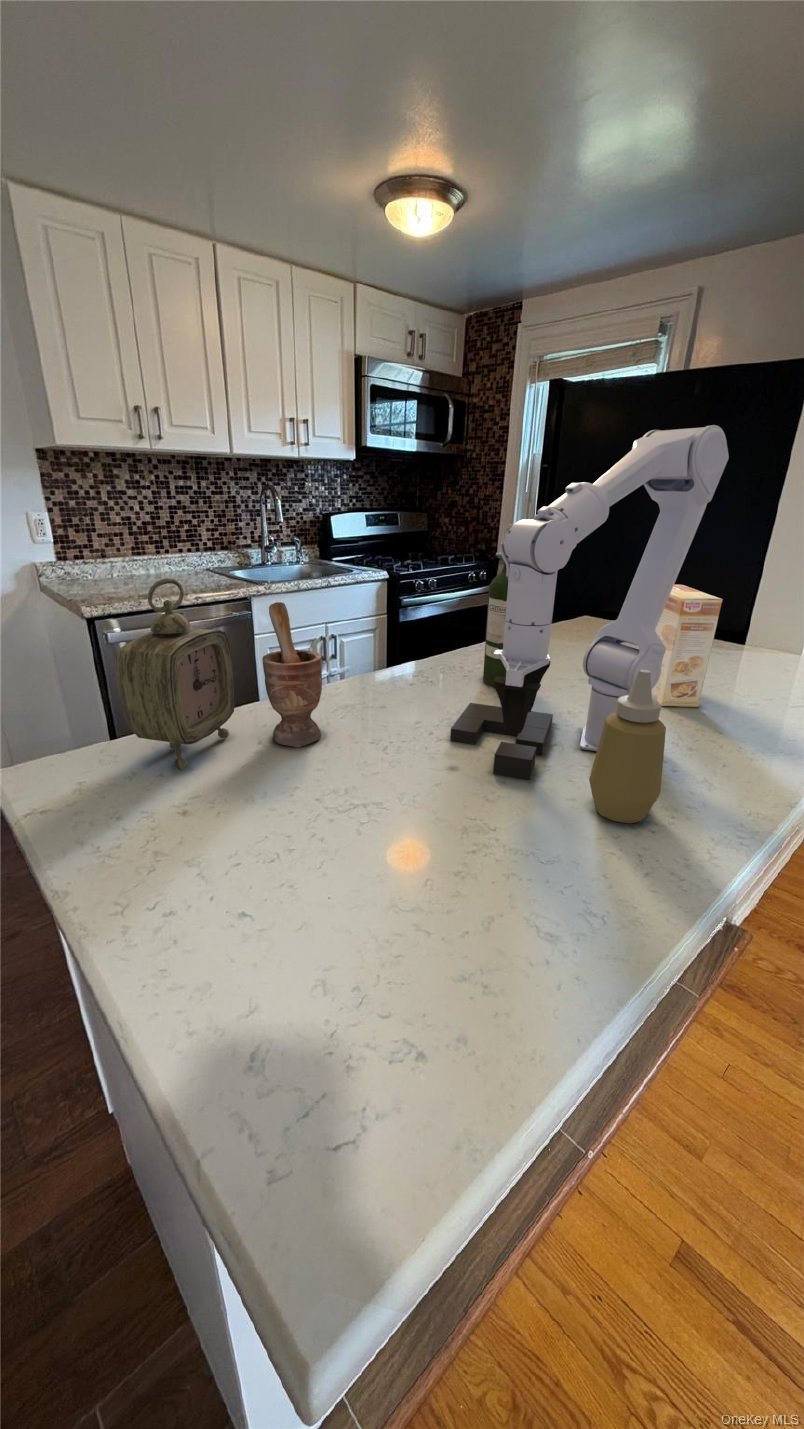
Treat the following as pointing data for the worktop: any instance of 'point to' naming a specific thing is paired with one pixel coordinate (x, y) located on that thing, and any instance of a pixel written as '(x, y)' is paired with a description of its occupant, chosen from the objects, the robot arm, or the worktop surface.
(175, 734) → the tabletop clock
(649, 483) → the robot arm
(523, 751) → the small dark rectangular block
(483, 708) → the base pad
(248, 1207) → the worktop surface
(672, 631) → the coffeecake box
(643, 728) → the squeeze bottle
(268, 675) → the mortar and pestle
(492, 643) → the wine bottle
